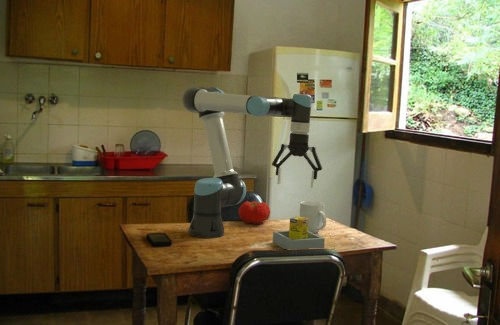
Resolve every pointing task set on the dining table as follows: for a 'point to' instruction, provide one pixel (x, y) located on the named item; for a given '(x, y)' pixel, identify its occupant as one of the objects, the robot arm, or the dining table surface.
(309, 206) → the mug
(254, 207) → the tomato
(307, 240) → the bin
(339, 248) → the dining table surface
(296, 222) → the supplement box
